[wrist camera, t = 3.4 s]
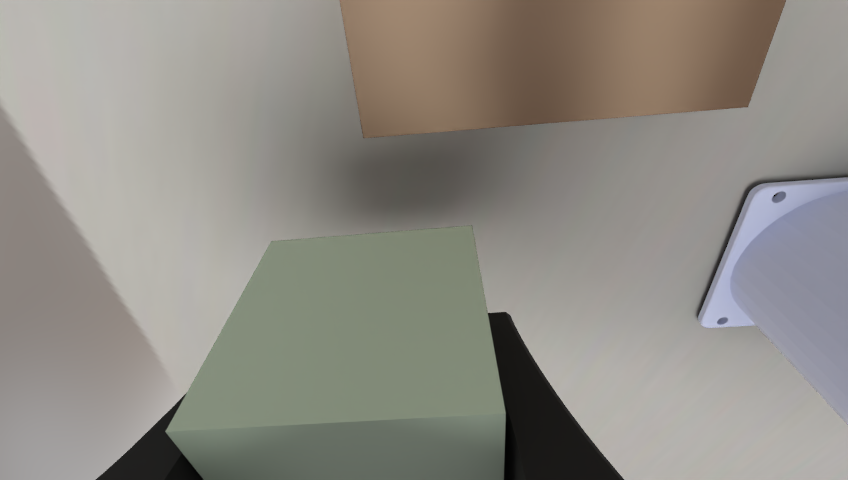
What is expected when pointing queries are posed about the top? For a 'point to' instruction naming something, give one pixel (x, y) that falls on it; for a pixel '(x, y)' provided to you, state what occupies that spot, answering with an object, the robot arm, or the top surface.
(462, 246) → the green cube
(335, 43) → the top surface
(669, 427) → the top surface
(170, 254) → the top surface
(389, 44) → the walnut base
